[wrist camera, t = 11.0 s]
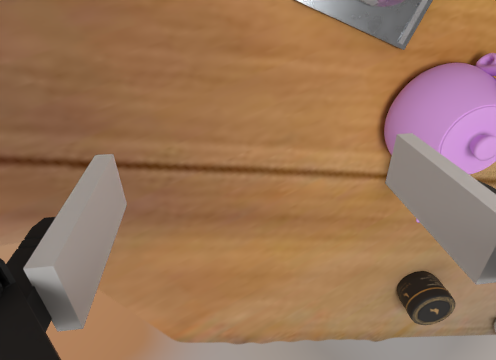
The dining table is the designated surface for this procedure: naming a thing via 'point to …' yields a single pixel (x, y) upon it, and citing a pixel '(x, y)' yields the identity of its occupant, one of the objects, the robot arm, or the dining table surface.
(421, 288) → the jar
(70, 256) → the robot arm
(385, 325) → the dining table surface
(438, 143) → the teapot
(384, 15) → the flange
